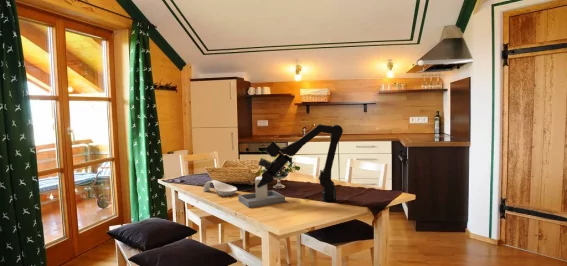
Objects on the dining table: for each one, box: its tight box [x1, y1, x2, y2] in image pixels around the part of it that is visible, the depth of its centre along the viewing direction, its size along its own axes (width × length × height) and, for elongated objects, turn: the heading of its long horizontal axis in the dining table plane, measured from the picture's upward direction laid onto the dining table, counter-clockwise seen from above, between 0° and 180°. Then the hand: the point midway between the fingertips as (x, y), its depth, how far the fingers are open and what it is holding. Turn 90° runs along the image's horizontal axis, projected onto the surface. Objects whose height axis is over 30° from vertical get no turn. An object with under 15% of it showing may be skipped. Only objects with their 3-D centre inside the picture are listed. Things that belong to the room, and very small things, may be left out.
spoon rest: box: [202, 179, 238, 197], centre depth 217 cm, size 24×12×7 cm, turn 53°
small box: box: [254, 176, 268, 200], centre depth 196 cm, size 8×6×10 cm
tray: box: [237, 190, 286, 209], centre depth 197 cm, size 20×16×3 cm
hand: (258, 185), depth 196 cm, fingers closed on small box, 8 cm apart
